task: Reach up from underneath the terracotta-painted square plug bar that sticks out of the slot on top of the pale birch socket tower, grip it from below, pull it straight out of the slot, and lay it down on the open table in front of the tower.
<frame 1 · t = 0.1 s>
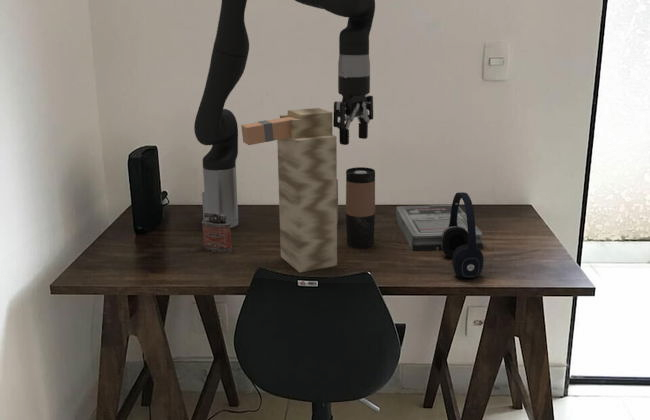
hand: (353, 141, 171), 29 cm above the table, tool pointing down, fingers open, 8 cm apart
decorative jar: (312, 222, 206), on the table
headphones: (460, 267, 171), on the table
hard drive: (436, 235, 195), on the table
travel mug: (360, 244, 187), on the table
socket tower: (308, 261, 175), on the table
plug bar: (274, 138, 163), point 32 cm above the table, touching socket tower
lighter: (217, 249, 184), on the table
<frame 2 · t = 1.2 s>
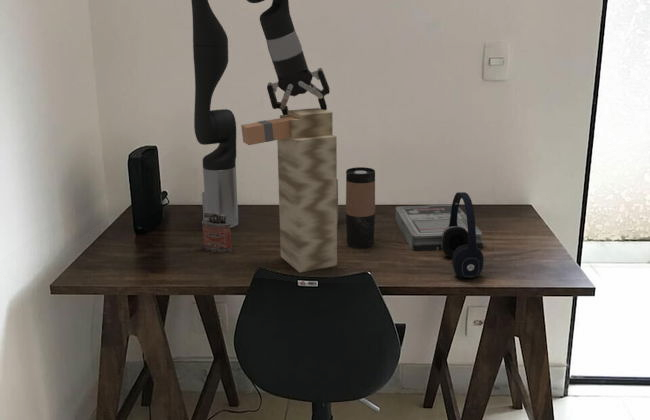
hand: (307, 116, 171), 35 cm above the table, tool tilted 20°, fingers open, 8 cm apart
nothing on the table moved.
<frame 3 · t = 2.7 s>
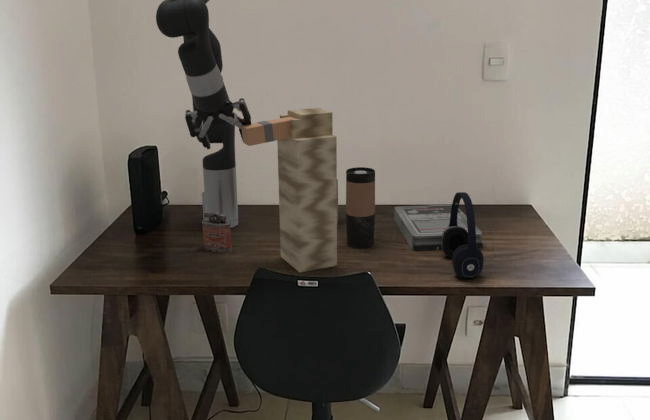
hand: (226, 143, 165), 30 cm above the table, tool tilted 30°, fingers open, 8 cm apart
plug bar: (274, 138, 163), point 32 cm above the table, tilted 6°, touching gripper, hand, socket tower
everything else where it was.
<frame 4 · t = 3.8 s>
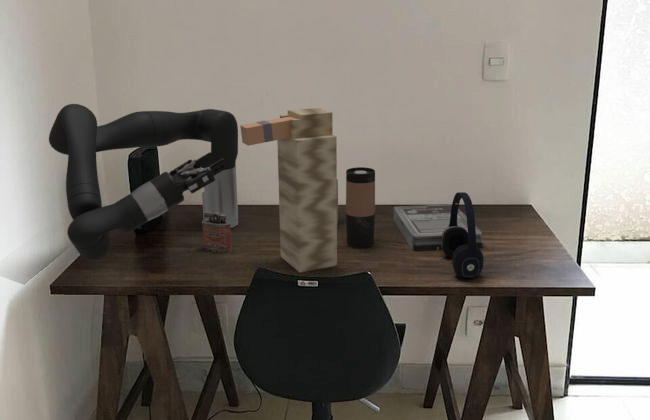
hand: (219, 158, 158), 28 cm above the table, tool pointing upward, fingers open, 8 cm apart
plug bar: (273, 138, 163), point 32 cm above the table, touching socket tower
everything else where it was.
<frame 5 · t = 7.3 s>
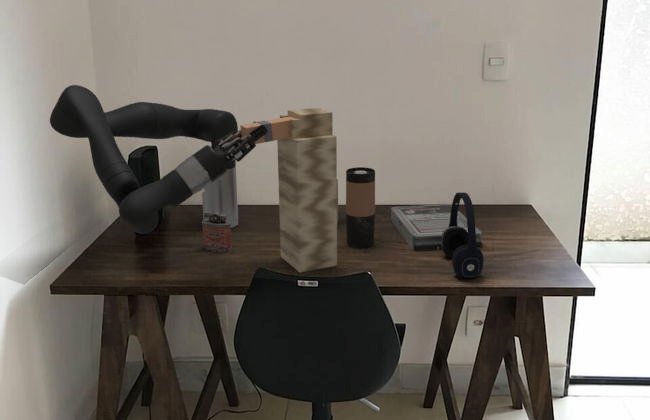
hand: (261, 126, 161), 35 cm above the table, tool pointing upward, fingers closed on plug bar, 4 cm apart
plug bar: (273, 138, 163), point 32 cm above the table, touching gripper, socket tower
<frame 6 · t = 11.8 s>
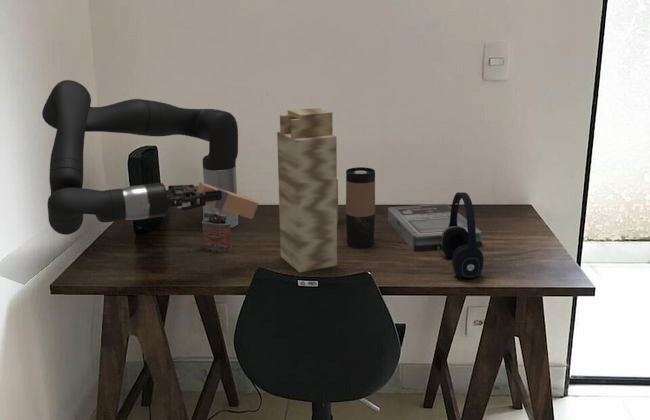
hand: (217, 192, 163), 20 cm above the table, tool horizontal, fingers closed on plug bar, 4 cm apart
plug bar: (223, 208, 165), point 16 cm above the table, tilted 25°, touching gripper
when the fingers open (9 cm above the table, at t = 14.1 s): plug bar drops 5 cm, on the table.
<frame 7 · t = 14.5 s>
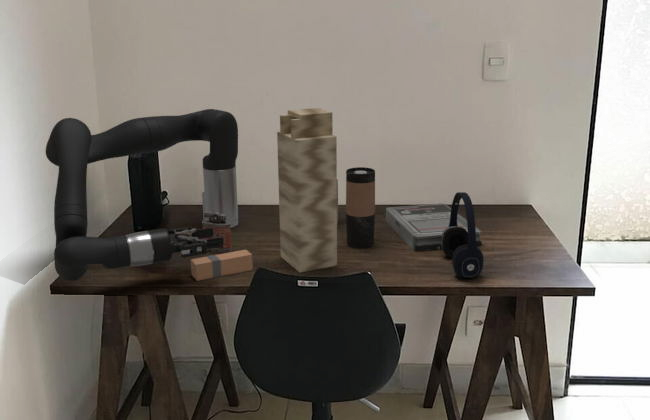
hand: (217, 236, 166), 9 cm above the table, tool horizontal, fingers open, 7 cm apart
plug bar: (222, 272, 169), on the table
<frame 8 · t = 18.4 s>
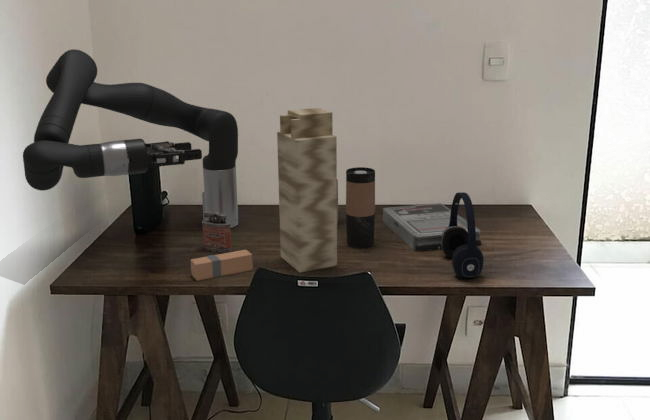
hand: (196, 150, 159), 30 cm above the table, tool horizontal, fingers open, 8 cm apart
at the end: plug bar inside the target area (1.5 cm from its centre), on the table; plug bar moved 34.9 cm from its start; the gripper is holding nothing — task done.
